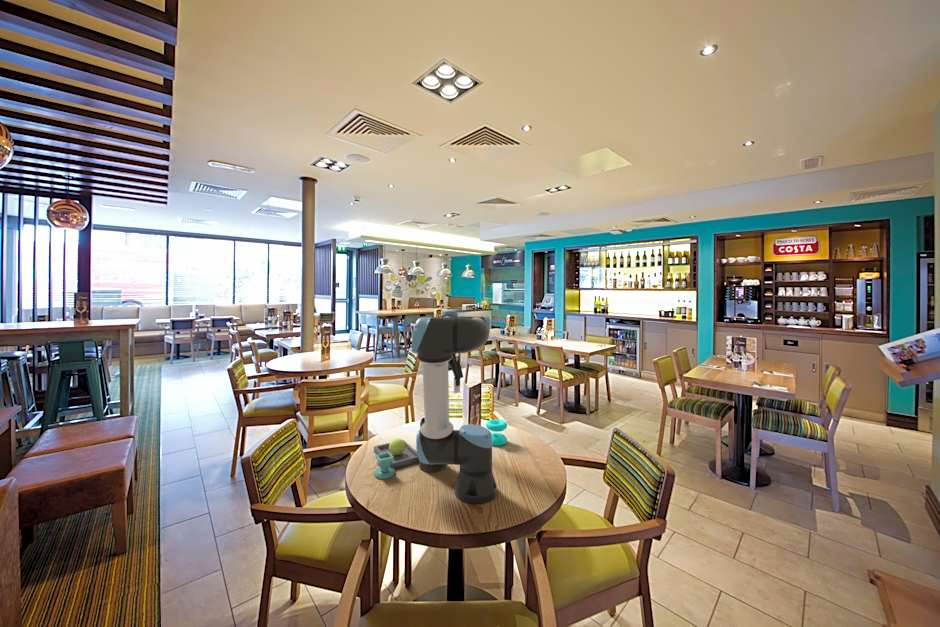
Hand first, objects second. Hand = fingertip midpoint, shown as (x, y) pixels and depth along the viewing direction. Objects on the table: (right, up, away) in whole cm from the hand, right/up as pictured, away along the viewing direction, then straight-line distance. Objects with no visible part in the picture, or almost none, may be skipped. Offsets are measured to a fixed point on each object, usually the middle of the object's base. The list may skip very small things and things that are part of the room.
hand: (449, 389), depth 170 cm
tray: (-22, -27, -10) cm, 37 cm away
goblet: (-24, -28, -26) cm, 45 cm away
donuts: (+22, -27, +6) cm, 35 cm away
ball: (-22, -23, -11) cm, 34 cm away
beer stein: (-4, -28, -20) cm, 35 cm away
